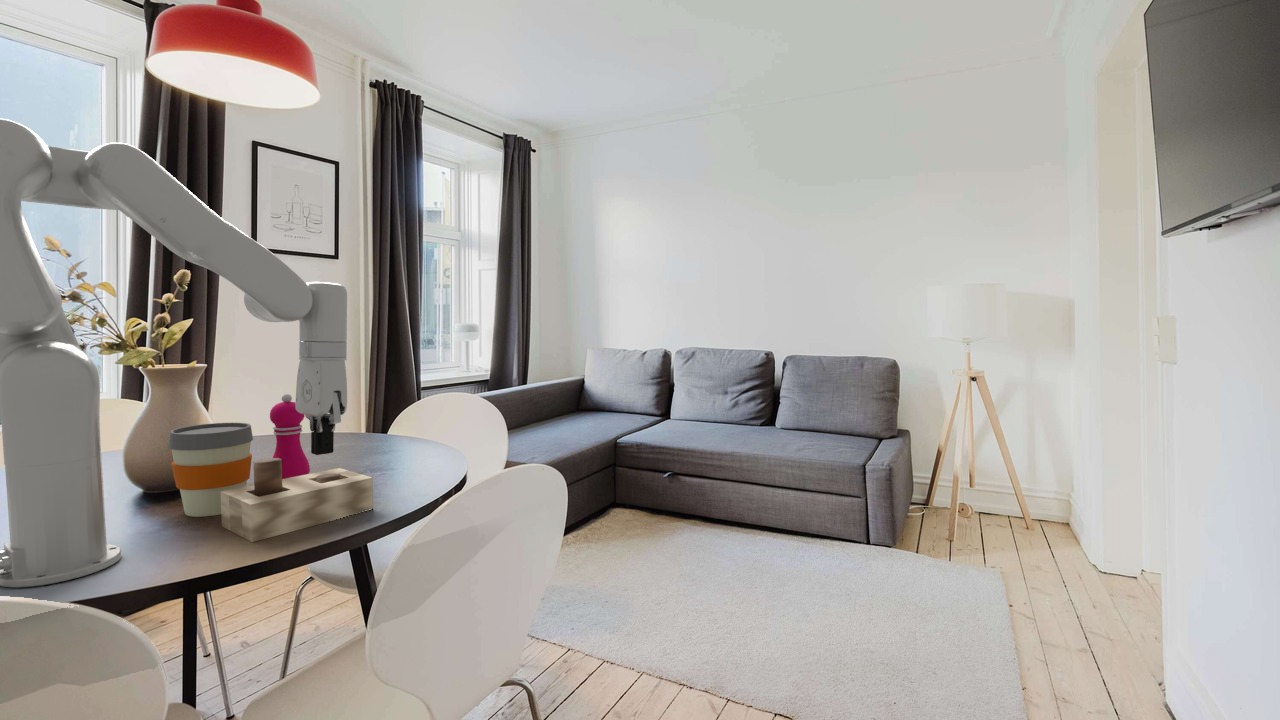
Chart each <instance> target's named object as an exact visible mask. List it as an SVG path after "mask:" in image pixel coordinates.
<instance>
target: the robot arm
mask: <svg viewBox="0 0 1280 720" xmlns="http://www.w3.org/2000/svg"><path fill="white" fill-rule="evenodd" d="M22 202H27V203H37V204H45V205H54V206H64V207H73V208H74V207H75V208H84V209H93V210H94V209H95V210H96V209H97V210H108V211H109V210H110V211H111V210H112V211H119V212H121V213H122V214H123V215H125V217H127V218H129V219H131V220H132V221H133V222H134V223H135V224H137V225H138V226H139V227H141V228H142V229H143V230H145V231H146V232H147V233H148V234H149V235H151V236H152V237H154V239H156V240H157V241H158V242H159V243H161V244H162V245H163V246H164V247H166V248H167V249H168V250H169V251H170V252H172V253H174V255H177V256H178V257H180V258H182V259H183V260H186V261H187V262H189V263H191V264H195V265H197V266H199V267H203V268H204V269H208V270H209V271H211V272H213V273H215V274H217V275H218V276H220V277H222V278H223V279H226V281H228V282H229V283H231V285H233V286H235V287H236V288H237V289H239V290H240V291H242V292H243V293H244V296H243V303H244V306H245V309H246V310H247V311H248V313H250V315H252V316H253V317H254V318H256V319H258V320H261V321H264V322H269V323H283V322H284V323H290V322H291V323H292V322H297V321H299V343H298V345H299V348H298V350H299V351H298V353H299V354H298V355H299V357H298V360H299V363H298V368H297V369H298V370H297V375H296V386H295V387H296V389H295V402H296V403H295V408H296V410H297V412H299V413H301V414H305V416H304V418H306V419H307V420H309V429H310V439H311V440H310V453H311V454H313V455H316V456H319V455H328V454H333V453H334V434H335V431H336V425H337V424H340V423H341V422H342V416H343V415H344V414H345V413H346V412H347V409H348V382H347V381H348V380H347V369H346V361H347V358H348V357H347V353H348V352H347V351H348V350H347V348H348V346H347V345H348V344H347V340H348V337H347V336H348V334H347V332H348V290H347V288H346V287H345V286H344V285H342V284H340V283H335V282H323V281H321V282H320V281H310V282H305V281H304V279H302V278H301V277H300V276H299V274H297V273H296V272H295V271H294V270H292V268H290V267H289V266H288V265H287V264H286V263H285V262H284V261H282V260H281V259H280V258H279V257H278V256H277V255H276V254H274V253H273V252H272V251H270V250H269V249H267V248H266V247H265V246H264V245H262V244H261V243H260V242H258V241H256V240H255V239H253V238H252V237H250V236H249V235H247V234H246V233H245V232H243V231H242V230H240V229H239V228H237V227H236V226H234V225H233V224H231V223H230V222H228V221H226V220H225V219H223V217H221V216H220V215H218V214H217V213H216V212H215V211H214V210H212V209H211V208H210V207H209V206H207V204H205V203H204V202H203V201H202V200H201V199H199V198H198V197H197V196H196V195H195V194H193V192H191V191H190V190H189V189H188V188H187V187H186V186H184V184H182V183H181V182H180V181H179V180H177V178H176V177H174V176H173V175H172V174H171V173H170V172H168V170H166V169H165V168H164V167H163V166H162V165H160V164H159V163H158V162H157V161H155V159H153V158H152V157H151V156H149V154H147V153H145V152H144V151H142V150H141V149H139V148H137V147H136V146H134V145H131V144H129V143H124V142H109V143H104V144H102V145H99V146H96V147H94V148H93V149H92V150H91V151H85V150H79V149H71V148H64V147H58V146H53V145H51V146H50V145H47V144H46V143H45V141H44V140H43V139H42V138H41V137H40V136H39V135H38V134H37V133H35V132H34V131H33V130H32V129H30V128H28V127H27V126H25V125H23V124H21V123H18V122H16V121H13V120H10V119H7V118H0V421H1V434H2V435H1V436H2V451H3V453H2V454H3V464H4V469H5V472H4V473H5V484H6V499H7V513H8V528H9V531H8V532H9V542H8V541H7V542H4V543H3V548H2V549H0V587H5V588H31V587H40V586H46V585H51V584H57V583H61V582H67V581H70V580H74V579H77V578H81V577H85V576H88V575H90V574H91V575H92V574H93V573H97V572H100V571H102V570H104V569H106V568H108V567H110V566H112V565H114V564H115V563H117V562H119V560H120V559H121V558H122V549H121V547H119V546H118V545H114V544H109V543H108V544H107V528H106V509H105V492H104V477H103V475H104V473H103V460H102V459H103V458H102V457H103V456H102V446H101V445H102V443H101V422H100V417H101V416H100V412H101V411H100V404H101V402H100V401H101V399H100V396H101V385H100V384H101V383H100V376H99V372H98V369H97V367H96V365H95V362H94V361H93V360H92V358H91V357H90V356H89V355H88V354H87V353H85V352H84V351H83V350H82V348H81V346H80V343H79V342H78V339H77V338H76V335H75V333H74V331H73V329H72V327H71V324H70V322H69V320H68V318H67V315H66V314H65V311H64V309H63V306H62V304H63V301H62V295H61V292H60V289H59V288H58V287H57V285H56V283H55V282H54V281H53V280H52V278H51V276H50V274H49V272H48V270H47V268H46V266H45V264H44V262H43V260H42V258H41V255H40V253H39V251H38V250H37V245H35V242H34V240H33V237H32V234H31V230H30V228H29V227H28V224H27V222H26V219H25V216H24V214H23V209H22Z"/></svg>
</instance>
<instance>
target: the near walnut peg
mask: <svg viewBox="0 0 1280 720" xmlns="http://www.w3.org/2000/svg"><path fill="white" fill-rule="evenodd" d="M252 463H253V464H252V466H253V485H254V491H255V496H258V497H260V496H265V495H270V494H274V493H279V492H283V489H282V463H281V459H280V458H273V457H270V458H261V459H257V460H255V461H253V462H252Z"/></svg>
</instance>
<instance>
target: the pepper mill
mask: <svg viewBox="0 0 1280 720" xmlns="http://www.w3.org/2000/svg"><path fill="white" fill-rule="evenodd" d="M292 400H293V396H292V395H291V394H289V393H285V394H283V395H282V396H281V401H282V402H279V403H277V404H275V405H273V406H272V407H271V408H270V412H269V419H270V422H271V423H272V424H274V427H272V429H273V435H275V440H276V442H275V444H276V446H275V449H274V453H273V455H272V458H280V459H281V463H282V479H286V478H291V477H296V476H301V475H306V474H310V472H311V468H310V467H311V466H310V462H309V459H308V458H307V456H306V454H305V452H304V450H303V447H302V444H301V443H302V442H301V433H302V432H303V429H302V428H303V425H302V424H301V423H302V422H303V420H304V419H305V414H301V413H299V412H297V410H296V408H295V403H296V401H292Z"/></svg>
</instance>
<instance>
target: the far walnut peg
mask: <svg viewBox="0 0 1280 720" xmlns="http://www.w3.org/2000/svg"><path fill="white" fill-rule="evenodd" d="M340 479H341V474H338V473H329V474H322V475H319V476H317V477H316V482H319V483H326V482H330V481H335V480H340Z"/></svg>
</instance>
